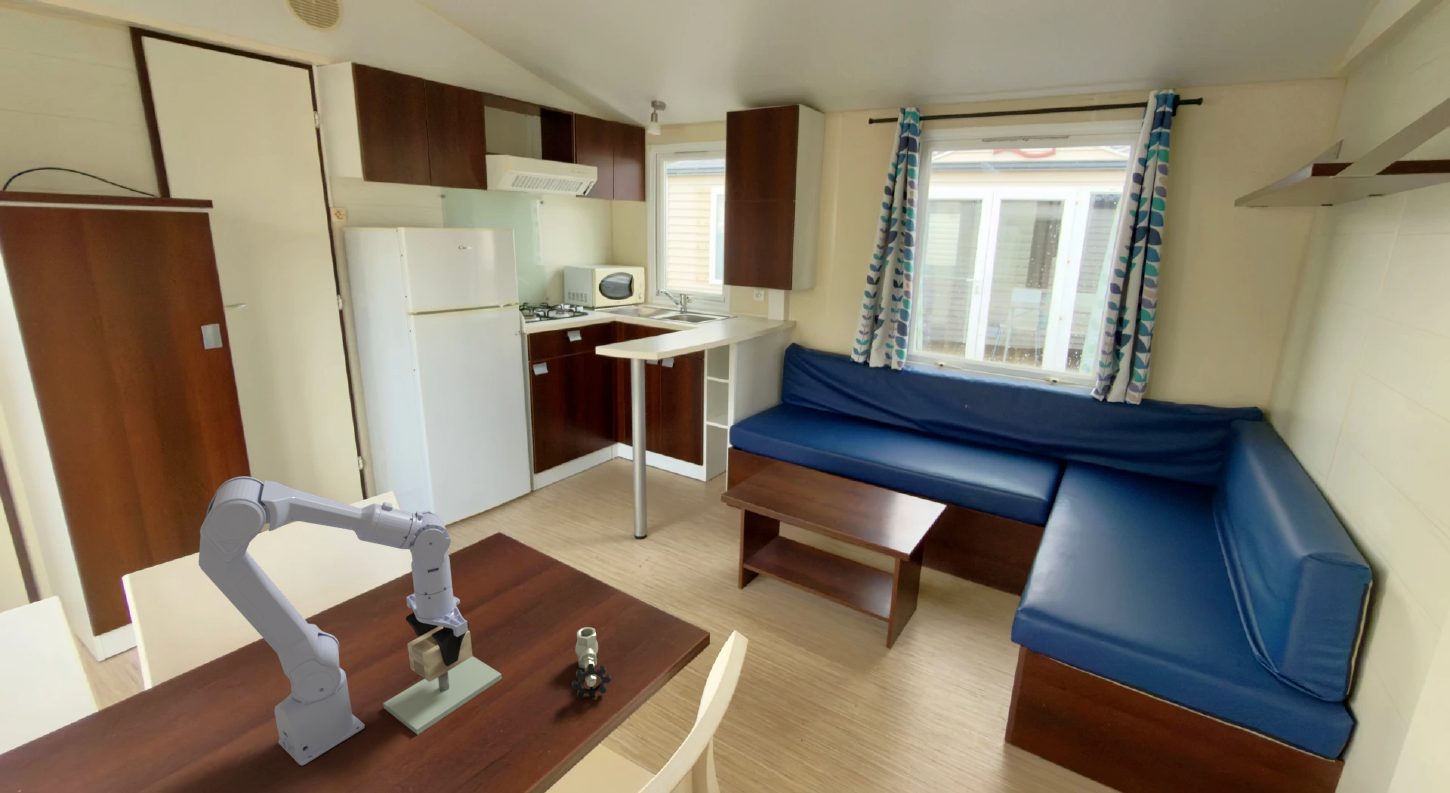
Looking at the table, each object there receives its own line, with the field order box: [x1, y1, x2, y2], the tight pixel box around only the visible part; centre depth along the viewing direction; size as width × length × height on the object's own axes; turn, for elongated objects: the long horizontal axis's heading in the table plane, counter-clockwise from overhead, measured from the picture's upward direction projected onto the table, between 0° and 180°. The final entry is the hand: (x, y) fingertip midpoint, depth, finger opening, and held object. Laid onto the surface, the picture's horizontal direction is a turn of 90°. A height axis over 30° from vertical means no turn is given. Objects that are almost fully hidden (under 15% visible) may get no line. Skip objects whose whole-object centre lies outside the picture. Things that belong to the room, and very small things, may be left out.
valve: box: [571, 626, 612, 700], centre depth 114 cm, size 7×7×12 cm
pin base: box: [383, 655, 503, 736], centre depth 109 cm, size 16×10×4 cm, turn 146°
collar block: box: [407, 626, 473, 682], centre depth 108 cm, size 8×6×5 cm
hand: (440, 655), depth 108 cm, fingers closed on collar block, 6 cm apart
